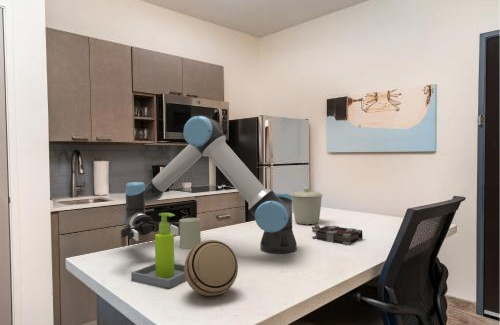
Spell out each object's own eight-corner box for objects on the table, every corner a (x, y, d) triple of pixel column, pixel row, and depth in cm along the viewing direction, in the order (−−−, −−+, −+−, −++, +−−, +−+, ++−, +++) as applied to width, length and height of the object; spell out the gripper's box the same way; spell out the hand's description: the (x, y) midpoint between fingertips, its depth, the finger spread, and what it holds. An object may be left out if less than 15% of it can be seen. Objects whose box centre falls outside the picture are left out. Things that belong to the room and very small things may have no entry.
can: (196, 249, 145) (196, 220, 145) (176, 248, 147) (175, 220, 146) (204, 243, 154) (203, 216, 154) (184, 243, 156) (184, 216, 156)
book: (347, 246, 148) (347, 234, 148) (299, 237, 165) (299, 227, 165) (363, 240, 158) (363, 229, 158) (316, 232, 176) (316, 222, 176)
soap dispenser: (167, 279, 107) (166, 215, 107) (151, 276, 111) (150, 213, 111) (180, 274, 112) (179, 212, 112) (165, 271, 115) (164, 211, 115)
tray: (197, 274, 113) (197, 267, 113) (169, 289, 101) (169, 280, 101) (162, 267, 121) (161, 260, 121) (131, 280, 109) (131, 272, 109)
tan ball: (174, 300, 93) (173, 245, 93) (201, 281, 107) (200, 233, 107) (224, 308, 88) (223, 249, 87) (246, 287, 102) (245, 236, 101)
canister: (326, 226, 189) (325, 187, 188) (292, 226, 189) (292, 188, 189) (319, 220, 207) (319, 185, 206) (289, 220, 207) (289, 185, 207)
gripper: (172, 229, 141) (192, 240, 123) (107, 237, 128) (119, 250, 110) (172, 211, 141) (192, 219, 123) (107, 217, 128) (118, 227, 110)
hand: (158, 234), depth 117 cm, fingers open, 13 cm apart
